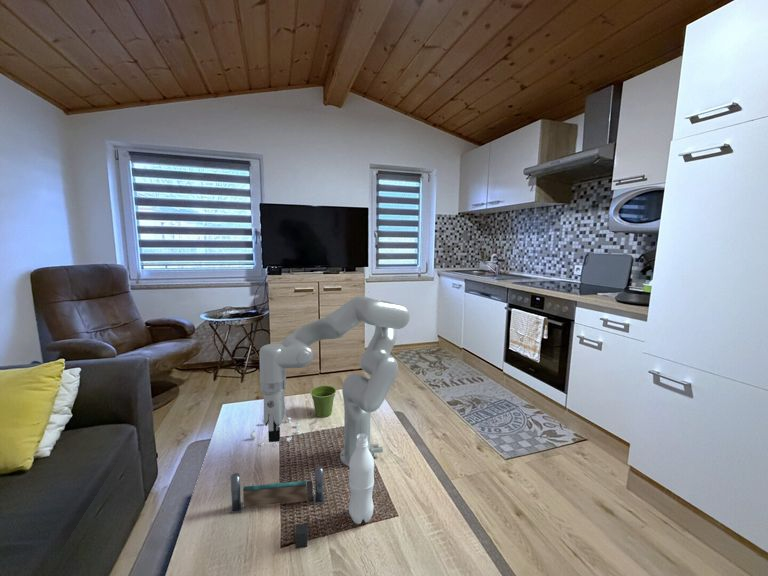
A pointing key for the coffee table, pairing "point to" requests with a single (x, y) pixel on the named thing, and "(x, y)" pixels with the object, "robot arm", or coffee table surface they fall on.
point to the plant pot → (323, 400)
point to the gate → (277, 493)
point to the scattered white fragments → (275, 442)
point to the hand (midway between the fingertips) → (274, 440)
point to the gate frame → (301, 529)
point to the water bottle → (361, 481)
